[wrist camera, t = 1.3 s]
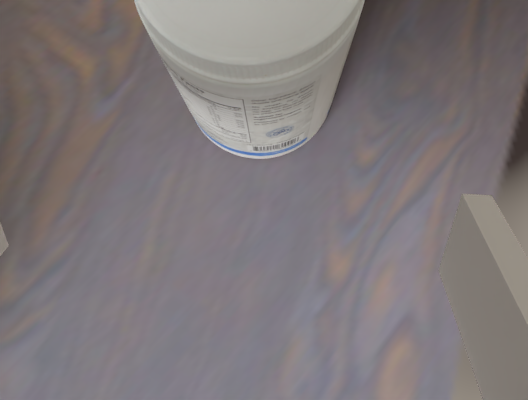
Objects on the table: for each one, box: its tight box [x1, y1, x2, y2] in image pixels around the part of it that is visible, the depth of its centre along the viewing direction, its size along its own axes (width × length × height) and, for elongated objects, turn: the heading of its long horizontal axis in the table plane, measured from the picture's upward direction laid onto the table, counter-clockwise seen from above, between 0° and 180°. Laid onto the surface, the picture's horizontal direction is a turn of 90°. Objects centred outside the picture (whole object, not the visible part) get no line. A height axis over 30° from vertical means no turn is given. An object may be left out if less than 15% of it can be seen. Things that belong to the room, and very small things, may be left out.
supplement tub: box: [134, 0, 365, 159], centre depth 25 cm, size 10×10×15 cm
